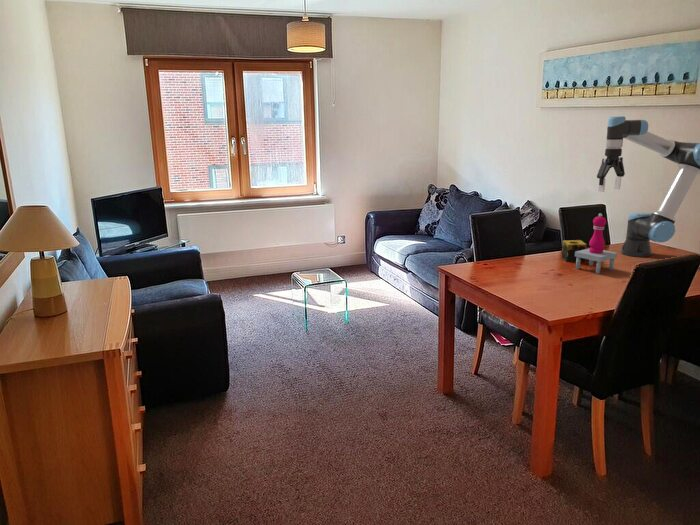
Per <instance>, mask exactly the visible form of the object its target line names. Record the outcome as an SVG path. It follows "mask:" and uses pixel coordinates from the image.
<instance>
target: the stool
mask: <svg viewBox="0 0 700 525" xmlns="http://www.w3.org/2000/svg"><path fill="white" fill-rule="evenodd" d="M590 248H591V247H589V248H586V249H585V250H580V251H576V252H575V256H576V257H577V258H576V262H575V269H576V270H580V269H581V262H580V261H581V258H585V260H589V261H588V266H591V267H593V266H594V262H596V265H595V266H596V267H595V275H600V274H601V265H602V262H605V261H608V260H609V265H608V270H609V271H614V269H615V268H614V266H615V259H616V258H618V252H614V251H609V250H604V249H603V253H601V254H595V253H591V252H589V250H590Z"/></svg>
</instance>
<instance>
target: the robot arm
mask: <svg viewBox="0 0 700 525" xmlns="http://www.w3.org/2000/svg"><path fill="white" fill-rule="evenodd" d="M606 130H607V132H606V141H605V150H604V156H605V157H606V158H602V160H601V164H600V167H599V169H598V172H597V175H596V178H597V179H599V180H598V182H599V183H598V192H600V193H601V192H602V193H605V189H606V188H605V186H606V176H607V174H608V172H610V169H612V168H613V169H614V173H615V175H616V176H615V180H614V190H621V186H622V184H621V183H622V177H624V176H625V174H626V172H625V168H624V162H623V161H624V158H623V157H621V156H622V153H623V149H622V148H623V144H624V140H628V141H629V142H632V143H635V144H637V145H639V146H642V147H643V148H645V149H646V148H647V149H649V150H651V151H653V152H656V153H658V154H659V156H660V157H662V158H664V159H666V160H669V161H671V162H673V163H675V164H677V166H678V171H677V173H676V174H675V176H674V178H673V180H672V182H671V184H670V185H669V187H668V190H667V192H666V193H665V196H664V197H663V198H662V201H661V202H660V204H659V206H658V208H657V210H656V211H653V212H651V213H646V212H645V213H644V212H640V213H638V212H637V213H636V212H635V213H631V214H629V215H628V219H627V228H626V235H625V236H626V237H625V241H624V243H623V245H622V247H621V249H620V253H621V254H622V255H624V254H625V255H624V256H629V257H634V258H635V257H638V258H643V257H644V258H645V257H647V258H648V257H651V256H652V253H653V251H652V247H651V246H652V245H651V242H650V241H652V242H654V243H655V242H657V243H665V242H667V241H669V240H670V239H672V238H673V236H675V234H676V233H675V232H676V226H675V222H676V219H675V216H676V214H677V212H678V211H679V208H680V207H681V205H682V204H683V201H684V199H685V198H686V197H687V194H688V193H689V190H690V189H691V186H692V185H693V183H694V182H695V180H696V177H697V176H698V175H699V174H700V142H683V141H677V140H674V139H666V138H664V137H661V136H659V135H657V134H654V133H652V132H650V131H648V130H649V122H648V121H647V120H645V119H626V116H619V115H618V116H610V117H609V118H608V122H607V126H606Z"/></svg>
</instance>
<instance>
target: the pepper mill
mask: <svg viewBox="0 0 700 525" xmlns="http://www.w3.org/2000/svg"><path fill="white" fill-rule="evenodd" d="M592 223H593V230H594V231H593V235H592V237H591V238H590V240H589V242H588V246H589V248H590V250H589V252H591V253H595V254H601V253H603V250H604V249H603V248H604V247H605V245H606V241H605V239H604V238H605V237H604V233H603V231H604V230H605V225H606V224H607V219H606V218H605V217H604V216H603V214H602V212H601V213H598V216H595V217H594V218H593V220H592Z"/></svg>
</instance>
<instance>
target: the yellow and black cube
mask: <svg viewBox="0 0 700 525" xmlns="http://www.w3.org/2000/svg"><path fill="white" fill-rule="evenodd" d="M561 244H562V245H561V246H562V247H561V248H562V249H561V258H562V259H563V260H564V261H565V262H566V263H567V262H568V263H576V258H577V257H576V256H575V252H576V251H580V250H585V249H587V243H586V242H584V241H583V240H581V239H576V240H575V239H573V240H572V239H571V240H565V239H564V240H562V243H561ZM584 262H586V259H585V258H581V261H580V263H584Z"/></svg>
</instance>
